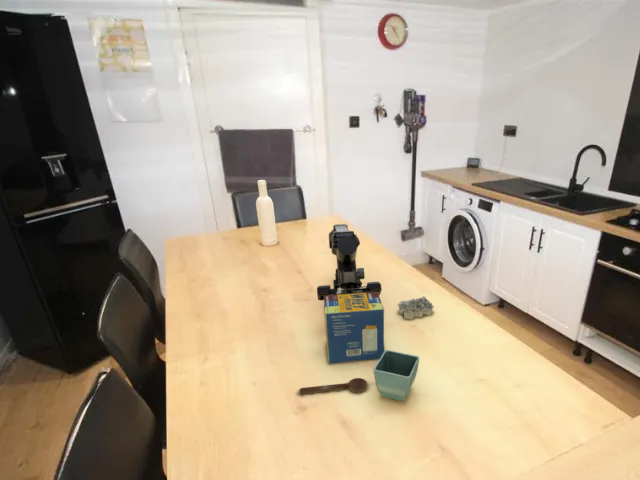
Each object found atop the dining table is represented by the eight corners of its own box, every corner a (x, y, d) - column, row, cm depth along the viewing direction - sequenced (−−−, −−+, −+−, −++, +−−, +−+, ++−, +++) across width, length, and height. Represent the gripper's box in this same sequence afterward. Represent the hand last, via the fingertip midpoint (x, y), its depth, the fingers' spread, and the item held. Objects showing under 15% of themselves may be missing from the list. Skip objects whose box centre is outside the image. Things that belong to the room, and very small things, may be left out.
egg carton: (405, 321, 130) (405, 309, 128) (396, 310, 136) (396, 299, 135) (435, 314, 134) (435, 303, 132) (424, 304, 140) (425, 294, 138)
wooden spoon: (299, 399, 97) (298, 395, 96) (299, 387, 101) (299, 382, 100) (368, 392, 99) (368, 387, 99) (365, 380, 103) (365, 375, 103)
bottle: (275, 246, 195) (267, 182, 182) (259, 246, 195) (250, 182, 182) (279, 240, 202) (272, 178, 189) (263, 240, 202) (255, 178, 189)
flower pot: (418, 386, 101) (420, 355, 97) (409, 409, 94) (410, 377, 90) (385, 378, 104) (385, 349, 100) (373, 401, 96) (372, 369, 92)
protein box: (326, 343, 119) (323, 295, 112) (378, 338, 121) (378, 291, 114) (328, 364, 109) (324, 313, 103) (384, 358, 112) (384, 308, 105)
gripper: (314, 260, 114) (318, 313, 109) (380, 256, 117) (387, 307, 112) (316, 275, 125) (319, 324, 120) (376, 271, 128) (382, 319, 122)
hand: (351, 318), depth 118 cm, fingers closed
